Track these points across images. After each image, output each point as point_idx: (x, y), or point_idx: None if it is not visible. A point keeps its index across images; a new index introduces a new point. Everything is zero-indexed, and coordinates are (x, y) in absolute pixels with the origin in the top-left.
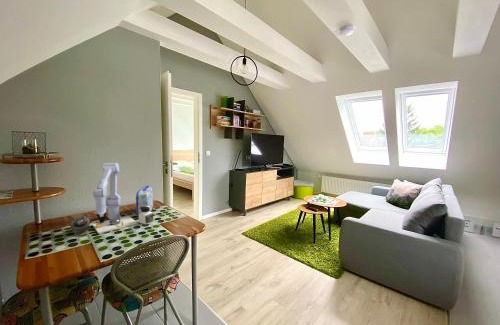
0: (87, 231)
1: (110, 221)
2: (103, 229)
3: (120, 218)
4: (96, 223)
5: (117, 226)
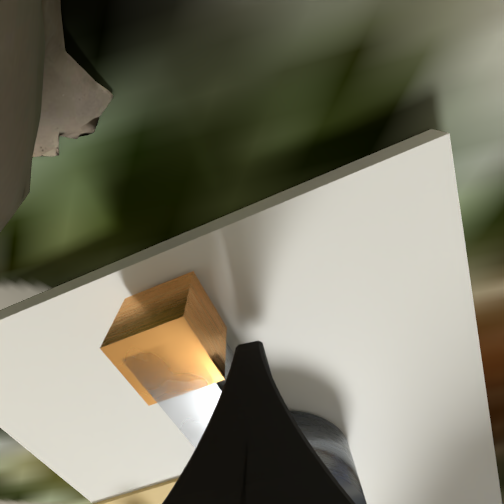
0: (55, 130)
1: None
2: (41, 389)
3: (458, 474)
4: (179, 323)
5: (123, 500)
